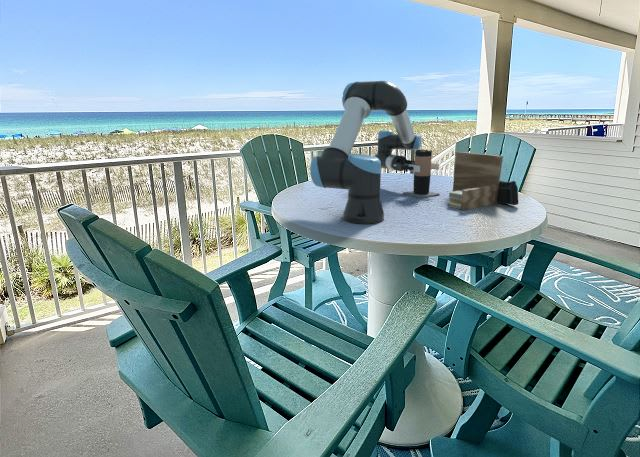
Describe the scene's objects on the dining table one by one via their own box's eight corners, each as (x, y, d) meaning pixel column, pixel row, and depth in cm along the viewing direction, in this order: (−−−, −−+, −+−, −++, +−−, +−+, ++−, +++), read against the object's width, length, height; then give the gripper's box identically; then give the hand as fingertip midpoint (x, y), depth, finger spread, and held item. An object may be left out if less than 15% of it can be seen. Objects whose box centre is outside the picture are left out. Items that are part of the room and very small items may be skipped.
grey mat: (421, 198, 168) (421, 196, 168) (402, 193, 178) (403, 192, 178) (439, 195, 174) (439, 193, 174) (421, 190, 184) (421, 189, 184)
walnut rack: (463, 210, 147) (469, 159, 141) (422, 200, 165) (426, 154, 159) (496, 203, 157) (502, 156, 151) (454, 194, 175) (458, 151, 169)
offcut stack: (463, 210, 149) (465, 195, 147) (446, 206, 155) (448, 192, 153) (484, 203, 158) (486, 190, 157) (467, 200, 164) (469, 187, 162)
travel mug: (412, 194, 174) (414, 151, 168) (413, 191, 181) (415, 149, 175) (429, 194, 171) (432, 151, 165) (429, 191, 178) (432, 149, 172)
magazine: (525, 186, 146) (483, 156, 170) (518, 187, 145) (476, 156, 169) (511, 223, 155) (472, 189, 179) (504, 223, 155) (466, 189, 179)
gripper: (413, 168, 194) (446, 173, 176) (378, 172, 182) (409, 178, 164) (414, 153, 192) (447, 157, 174) (378, 157, 180) (410, 161, 162)
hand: (429, 168), depth 169 cm, fingers open, 11 cm apart
